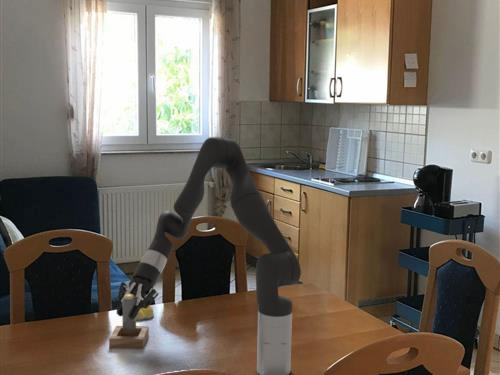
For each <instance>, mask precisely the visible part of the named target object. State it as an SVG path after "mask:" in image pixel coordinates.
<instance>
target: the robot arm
mask: <svg viewBox="0 0 500 375" xmlns="http://www.w3.org/2000/svg"><path fill="white" fill-rule="evenodd" d="M194 161H195V162H194V163H193V166H192V169H191V172H190V174H189V177H188V179H187V181H186V183H185V186H184V187H183V189H182V190H181V192H180V194H179V195H178V197H177V198H176V200H175V202H174V204H173V210H174V212H173V211H171V210H165V211H163V212H162V213H161V214H160V215H159V216H158V219H157V224H156V228H155V229H156V230H155V233H154V236H153V238H152V241H151V243H150V245H149V247H148V249H147V250H146V252H145V253H144V254H143V256H142V258H141V260H140V262H139V264H138V266H137V267H136V269H135V270H134V272H133V276H132V279H131V280H130V281H129V282H125V281H121V283H120V285H119V290H118V294H117V300H119V302H120V304H119V305H118V307H117V309H116V314H117V316H119V317H122V299H123V298H124V295H126V294H133V295H134V297H135V298H136V302H135V306H133V308H132V310H131V311H130V313H129V315H128V317H129V318H130V319H132V320H133V319H134V318H135V317H136V316H137V314H138V312H139V310H140V309H142V308H145V309H146V308H147V307H148V306H149V305H150V306H151V304H152V303H153V302H154V301H155V300H156V298H158V296H159V292H158V291H157V290H156V289H155V288H154V286H157V283H158V281H159V278H160V277H161V275H162V273H163V271H164V269H165V267H166V264H167V262H168V260H169V257H170V256H171V254H172V252H173V250H174V244H173V242H172V241H171V240H170V239H169V238H168V237H167V236H166V235H168V236H170V237H172V238H173V239H176V240H182V239H185V237H186V236H187V235H188V233H189V230H190V226H191V225H190V224H191V222H192V219H193V216H194V214H195V212H196V211H197V209H198V208H199V206H200V204H201V203H202V201H203V199H204V196H205V180H206V176H207V175H208V173H209V171H210V170H211V169H212V168H218V169H224V170H225V171H226V172H227V174H228V177H229V178H230V181H231V184H232V186H231V191H230V197H229V198H230V206H231V209H232V211H233V213H234V215H235V218H236V219H237V221H238V223H239V224H240V226H241V227H242V228H244V230H245V231H247V232H248V233H249V234H251V235H252V236H253V237H255V238H256V239H257V240H258V241H260V242H261V243H262V245H264V246H265V247H266V249H267V250H268V252H269V253H264V254H261V255H260V256H259V257H258V259H257V261H256V265H255V288H256V289H255V293H256V294H255V295H256V296H255V297H256V301H257V306H258V308H257V309H258V311H257V340H256V343H257V345H256V350H257V351H256V372H257V374H259V375H289V374H290V373H291V367H292V366H291V362H292V361H291V360H292V358H291V357H292V356H291V355H292V354H291V353H292V334H293V333H292V329H293V328H292V327H293V325H292V324H293V301H292V300H291V299H290V298H288V297H286V296H282V295H279V288H280V287H281V288H282V287H288V286H290V285H291V286H292V285H294V284H296V283H298V282H299V281H300V279H301V276H302V271H301V265H300V261H299V259H298V257H297V256H296V253H295V251H294V250H293V249H292V247H291V246H290V244H289V243H288V241H287V240H286V238H285V237H284V235H283V234H282V232H281V230H280V229H279V227H278V224H277V223H276V222H275V220H274V218H273V216H272V214H271V212H270V210H269V208H268V205H267V203H266V201H265V199H264V198H263V195H262V193H260V190H259V189H258V187H257V185H256V183H255V181H254V178H253V176H252V174H251V172H250V170H249V167H248V165H247V163H246V162H247V161H246V160H245V157H244V154H243V151H242V149H241V147H240V145H239V144H238V143H237V142H236V140H234V139H231V138H227V137H220V136H210V137H207V138H206V139H205V140H204V142H203V143H202V144H201V147H200V150H199V151H198V154H197V156H196V159H195V160H194ZM165 234H166V235H165Z"/></svg>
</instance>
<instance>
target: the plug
mask: <svg viewBox="0 0 500 375" xmlns="http://www.w3.org/2000/svg"><path fill="white" fill-rule="evenodd" d="M135 302H136V297H134V295H133V294H126V295H124V298H123V299H122V316H121V317H122V326H123V329H125V330H132V329H135V328H136V326H137V320H136V317H135V318H134V319H133V320H132V319H130V318H129V317H128V315H129V313H130V311H131V310H132V308H133V306H135Z"/></svg>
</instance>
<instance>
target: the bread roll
mask: <svg viewBox="0 0 500 375" xmlns="http://www.w3.org/2000/svg"><path fill="white" fill-rule="evenodd" d="M154 316H155V313H154V309H153V307H152V305H151V304H150V305H149V306H148V307H147V308H146V309H145V308H142V309H140V310H139V312H138V314H137V316H136V321H143V320H148V319H151V318H153V317H154Z"/></svg>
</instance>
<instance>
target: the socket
mask: <svg viewBox="0 0 500 375" xmlns="http://www.w3.org/2000/svg"><path fill="white" fill-rule="evenodd" d="M149 328H150V327H149V326H147V325H146V326H145V325H142V326H141V325H136V328H135V329H132V330H125V329H123V325H116V326H115V327H114V329H113V331H112V333H111V335H110V336H109V338H108V348H109V349H129V350H130V349H131V350H132V349H133V350H134V349H137V350H138V349H139V350H140V349H141V350H144V347H145V345H146V342H147V340H148V337H149V332H150V331H149Z"/></svg>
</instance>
